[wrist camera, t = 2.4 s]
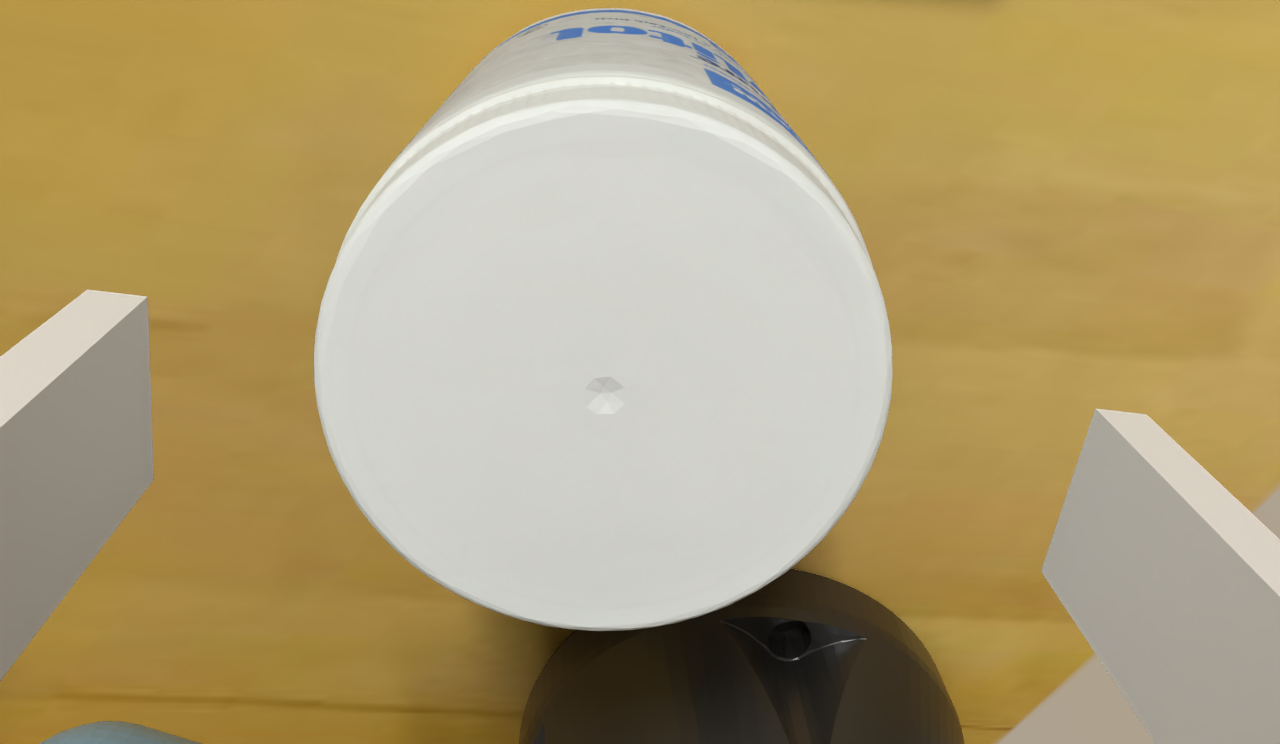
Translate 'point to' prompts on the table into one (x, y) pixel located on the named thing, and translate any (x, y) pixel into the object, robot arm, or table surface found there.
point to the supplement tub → (604, 334)
